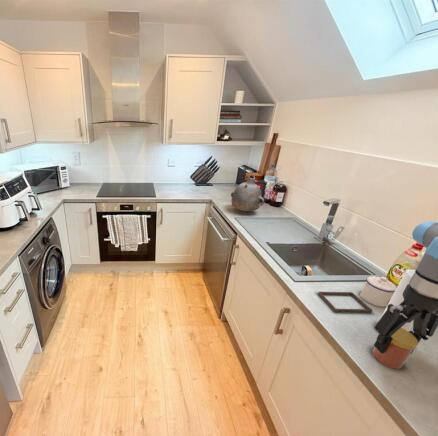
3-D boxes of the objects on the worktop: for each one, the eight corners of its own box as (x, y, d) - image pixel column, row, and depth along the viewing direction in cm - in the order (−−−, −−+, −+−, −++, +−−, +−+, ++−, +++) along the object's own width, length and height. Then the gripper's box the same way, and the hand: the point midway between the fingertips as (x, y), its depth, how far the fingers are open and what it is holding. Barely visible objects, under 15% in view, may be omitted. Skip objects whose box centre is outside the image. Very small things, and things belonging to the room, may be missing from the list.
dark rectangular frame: (350, 296, 101) (352, 292, 100) (370, 314, 91) (372, 310, 91) (317, 295, 101) (318, 291, 100) (333, 313, 92) (335, 309, 91)
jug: (227, 214, 185) (232, 176, 173) (229, 205, 203) (234, 170, 191) (261, 219, 177) (269, 179, 164) (260, 209, 195) (267, 173, 183)
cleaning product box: (258, 201, 213) (262, 179, 205) (262, 204, 204) (266, 182, 196) (239, 201, 213) (243, 179, 205) (242, 204, 205) (246, 182, 197)
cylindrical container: (407, 345, 79) (445, 286, 69) (381, 338, 81) (414, 280, 71) (395, 328, 85) (429, 272, 75) (371, 323, 88) (400, 267, 78)
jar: (386, 350, 77) (400, 327, 73) (407, 370, 71) (423, 347, 67) (365, 349, 78) (378, 326, 73) (384, 370, 71) (399, 346, 67)
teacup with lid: (392, 311, 93) (405, 287, 88) (363, 304, 96) (374, 281, 91) (378, 292, 103) (389, 270, 99) (353, 286, 106) (362, 265, 102)
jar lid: (392, 347, 68) (394, 343, 67) (375, 326, 75) (377, 322, 74) (423, 352, 67) (426, 348, 66) (403, 330, 73) (405, 326, 73)
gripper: (450, 282, 67) (413, 339, 76) (377, 281, 67) (349, 338, 76) (484, 301, 60) (439, 362, 69) (402, 300, 60) (368, 360, 69)
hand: (392, 349), depth 72 cm, fingers closed on jar lid, 7 cm apart
